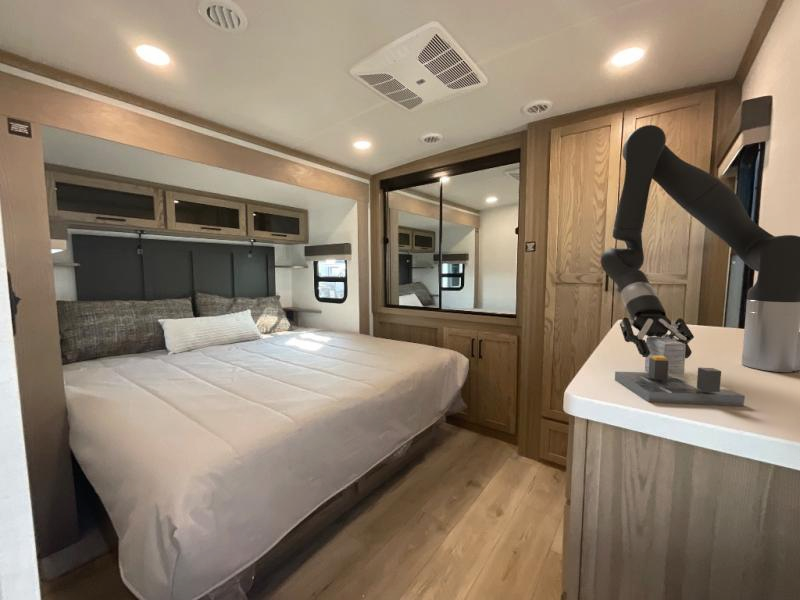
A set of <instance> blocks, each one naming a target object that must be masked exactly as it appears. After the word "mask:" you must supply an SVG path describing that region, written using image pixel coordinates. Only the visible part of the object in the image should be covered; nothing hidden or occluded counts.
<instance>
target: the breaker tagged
mask: <svg viewBox="0 0 800 600" xmlns="http://www.w3.org/2000/svg"><path fill="white" fill-rule="evenodd" d="M668 362H669V361H668V360H667V358H666V357H664V356H651V358H649V372H648V373H649V375H648V376H649V377H651V378H653V379H662V380H667V377H668Z"/></svg>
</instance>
